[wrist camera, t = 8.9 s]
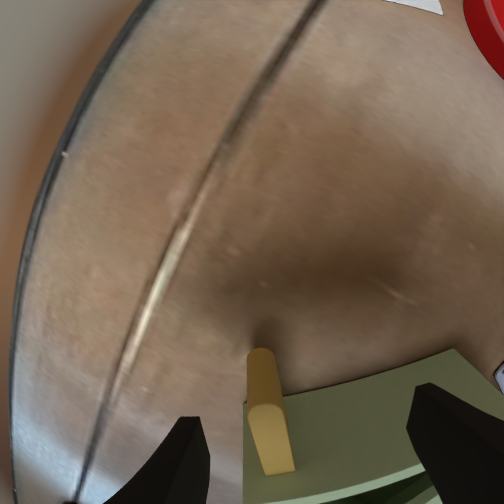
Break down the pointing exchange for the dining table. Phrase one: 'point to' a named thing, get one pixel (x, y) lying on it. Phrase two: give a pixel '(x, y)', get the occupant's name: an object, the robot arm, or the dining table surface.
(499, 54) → the decorative ornament
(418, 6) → the white paper sheet
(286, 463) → the cupboard door
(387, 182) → the dining table surface
